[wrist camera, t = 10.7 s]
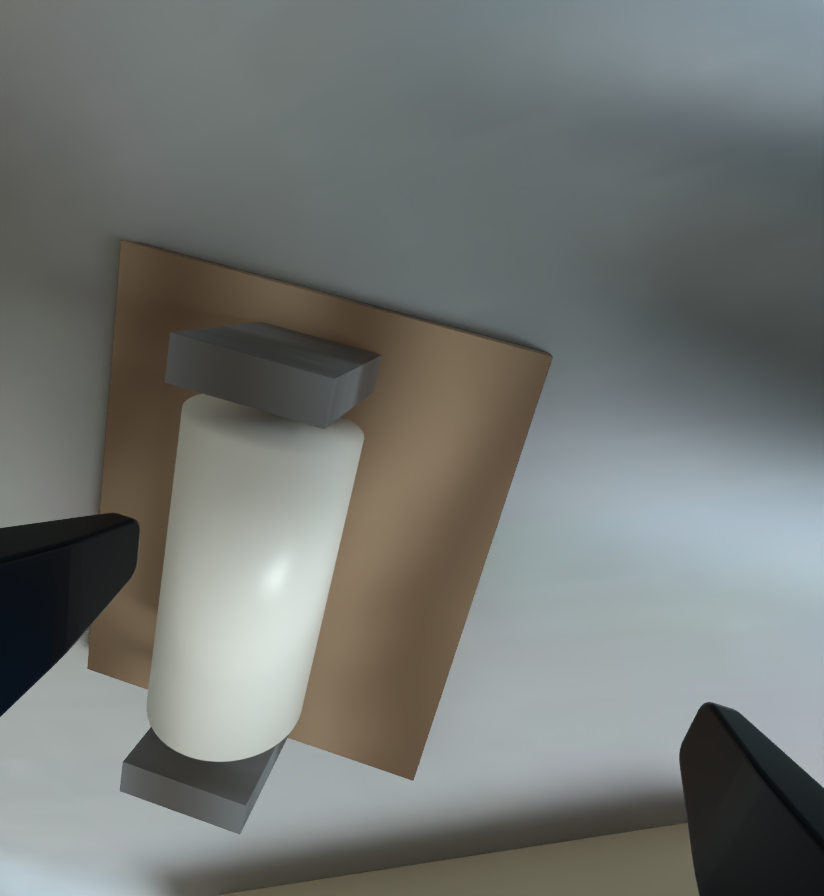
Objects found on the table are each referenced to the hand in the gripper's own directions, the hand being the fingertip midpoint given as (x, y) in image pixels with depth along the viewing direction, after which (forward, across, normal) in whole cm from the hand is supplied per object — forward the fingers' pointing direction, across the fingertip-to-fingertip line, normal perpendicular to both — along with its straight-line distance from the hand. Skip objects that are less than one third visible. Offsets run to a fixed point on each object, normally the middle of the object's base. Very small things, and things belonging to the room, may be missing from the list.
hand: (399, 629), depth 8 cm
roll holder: (+10, +5, +5) cm, 13 cm away
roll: (+9, +5, +5) cm, 12 cm away
